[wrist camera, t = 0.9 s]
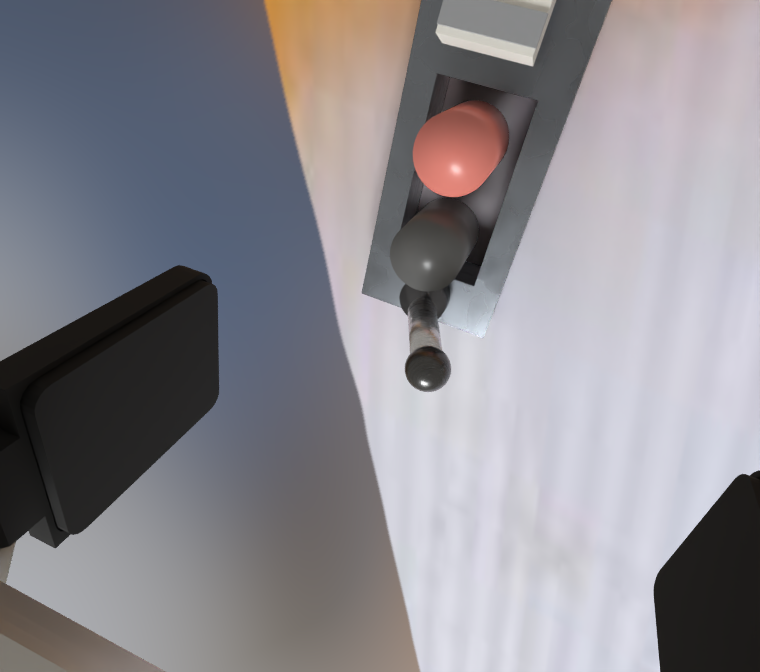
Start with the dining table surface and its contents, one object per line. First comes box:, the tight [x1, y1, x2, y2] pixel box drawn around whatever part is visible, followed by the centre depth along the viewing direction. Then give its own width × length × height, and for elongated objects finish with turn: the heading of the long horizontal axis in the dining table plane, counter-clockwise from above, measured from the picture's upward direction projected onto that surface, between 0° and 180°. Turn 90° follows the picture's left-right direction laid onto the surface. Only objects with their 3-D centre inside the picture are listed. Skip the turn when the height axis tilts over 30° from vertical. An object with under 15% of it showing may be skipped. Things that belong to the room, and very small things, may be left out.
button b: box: [390, 198, 479, 292], centre depth 27 cm, size 4×4×4 cm
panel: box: [362, 0, 612, 338], centre depth 26 cm, size 22×8×4 cm, turn 169°
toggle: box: [405, 298, 451, 392], centre depth 27 cm, size 2×2×7 cm
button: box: [413, 100, 509, 197], centre depth 24 cm, size 4×4×4 cm
